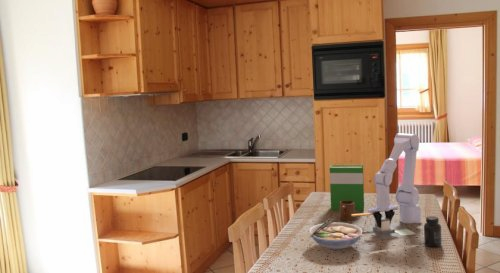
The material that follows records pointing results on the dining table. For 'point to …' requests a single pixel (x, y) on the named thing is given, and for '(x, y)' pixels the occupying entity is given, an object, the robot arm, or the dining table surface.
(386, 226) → the plug
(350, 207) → the mug
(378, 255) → the dining table surface
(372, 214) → the orange flat bar
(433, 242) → the supplement bottle
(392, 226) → the socket board
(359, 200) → the green cereal box
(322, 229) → the ramen bowl
